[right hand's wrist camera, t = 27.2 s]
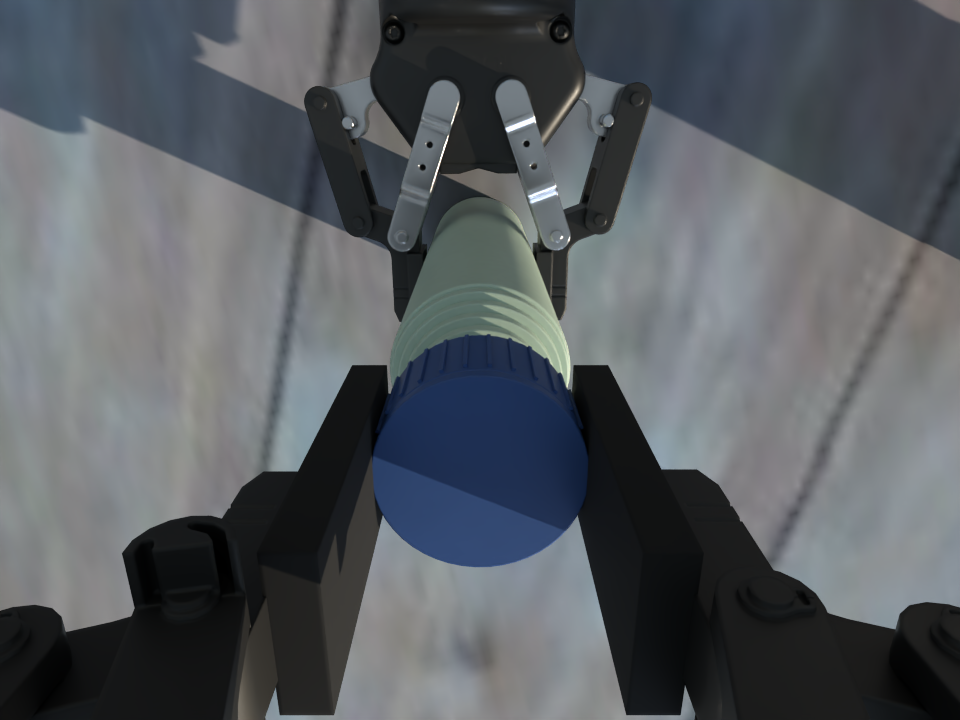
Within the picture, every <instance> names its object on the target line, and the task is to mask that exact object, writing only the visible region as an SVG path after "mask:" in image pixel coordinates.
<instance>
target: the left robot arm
mask: <svg viewBox="0 0 960 720" xmlns="http://www.w3.org/2000/svg"><path fill="white" fill-rule="evenodd" d="M379 12H380V31H381V39H380V47H379V51H378V54H377V57H376V60H375V62H374V64H373V66H372V69H371V72H370V76H369V77H366V78H362V79H359V80H355V81H352V82H348V83H345V84H341V85H338V86H334V87H326V86H315V87H313V88H311V89H309V90H308V91H307V93H306V95H305V98H304V104H305V108H306V111H307V114H308V117H309V120H310V123H311V126H312V129H313V132H314V136H315V139H316V142H317V145H318V148H319V151H320V154H321V157H322V160H323V163H324V166H325V169H326V172H327V175H328V178H329V181H330V184H331V187H332V190H333V193H334V197H335V200H336V203H337V206H338V209H339V212H340V215H341V218H342V221H343V224H344V227H345V229H346V231H347V232H348V233H349V234H350V235H352V236H354V237H363V236H364V237H367V238H370V239H373V240H376V241H379V242H381V243H383V244H384V245H385V246H386V247H387V248H388V249H389V251H390V253H391V258H392V274H393V292H394V310H395V313H396V315H397V317H398V319H399V321H400V322H402V319H403V316H404V314H405V311H406V309H407V306H408V303H409V301H410V298H411V295H412V293H413V290H414V288H415V285H416V282H417V280H418V277H419V274H420V272H421V269H422V266H423V264H424V261H425V259H426V256H427V244H422V226H423V223H424V220H425V217H426V214H427V211H428V208H429V204H430V201H431V198H432V195H433V192H434V190H435V187H436V183H437V180H438V177H439V174H460V173H463V172H467V171H470V170H474V169H477V168H480V169H484V170H487V171H491V172H495V173H518V176H519V178H520V181H521V184H522V187H523V190H524V193H525V196H526V198H527V201H528V204H529V207H530V210H531V213H532V216H533V219H534V222H535V225H536V228H537V231H538V243H533V256H534V259H535V261H536V264H537V266H538V269H539V272H540V274H541V277H542V279H543V282H544V285H545V287H546V290H547V293H548V295H549V298H550V300H551V303H552V306H553V308H554V311H555V313H556V316H557V319H558V320H561V319H562V317H563V315H564V313H565V311H566V300H567V297H566V296H567V274H568V254H569V251H570V249H571V247H572V246H573V244H574V243H576V242H577V241H578V240H581V239H583V238H586V237H589V236H591V235H594V234H604V233H606V232H608V231H609V230H610V229H611V228H612V226H613V224H614V221H615V218H616V215H617V212H618V209H619V205H620V202H621V199H622V196H623V192H624V189H625V186H626V183H627V179H628V176H629V173H630V170H631V166H632V163H633V160H634V157H635V154H636V150H637V147H638V144H639V141H640V137H641V134H642V131H643V128H644V124H645V121H646V118H647V115H648V111H649V108H650V105H651V101H652V94H651V91H650V89H649V88H648V87H647V86H646V85H645V84H643V83H639V82H636V83H631V84H626V85H623V84H620V83H616V82H612V81H608V80H605V79H601V78H597V77H593V76H590V75H586V74H585V69H584V66H583V64H582V62H581V60H580V57H579V55H578V53H577V49H576V46H575V40H574V17H575V0H379ZM578 100H580V101H582V102H583V103H584V104H585V106H586V108H587V112H588V117H587V125H588V128H589V130H590V131H591V132H592V133H593V134H595V135H598V136H599V137H598V140H597V144H596V147H595V151H594V154H593V158H592V161H591V165H590V168H589V172H588V175H587V179H586V182H585V186H584V189H583V192H582V196H581V199H580V203H579V204H577V205H575V206H572V207H569V208H567V209H564V210H563V208H562V205H561V202H560V198H559V195H558V192H557V187H556V183H555V180H554V177H553V173H552V170H551V167H550V164H549V161H548V158H547V155H546V152H545V148H544V147H545V146H546V145H547V143H548V142H549V140H550V139H551V137H552V136H553V135H554V133H555V132H556V130H557V129H558V128H559V126H560V125H561V123H562V122H563V121H564V119H565V118H566V116H567V115H568V114H569V112H570V111H571V109H572V108H573V107H574V105H575V104H576V102H577V101H578ZM376 102H378V103H379V104H380V106H381V107H382V108H383V110H384V111H385V112H386V114H387V115H388V116H389V118H390V119H391V121H392V122H393V123H394V125H395V126H396V127H397V129H398V130H399V131H400V133H401V134H402V135H403V137H404V138H405V140H406V141H407V142H408V144H409V145H410V146H411V148H412V151H411V154H410V158H409V161H408V164H407V168H406V171H405V174H404V178H403V181H402V184H401V188H400V194H399V198H398V201H397V204H396V208H395V211H393V210H390V209H387V208H384V207H381V206H379V205H378V202H377V199H376V195H375V192H374V189H373V186H372V182H371V179H370V176H369V173H368V169H367V166H366V163H365V160H364V156H363V153H362V150H361V146H360V143H359V140H358V138H359V137H362V136H363V135H365V134H366V132H367V131H368V128H369V117H368V114H369V110H370V108H371V106H372V105H373V104H374V103H376Z"/></svg>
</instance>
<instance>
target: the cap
mask: <svg viewBox="0 0 960 720" xmlns="http://www.w3.org/2000/svg"><path fill="white" fill-rule="evenodd" d="M581 429H583V425H582V422H581V419H580V416H579V413H578V410H577V407H576V404H575V401H574V398H573V395H572V392H571V389H570V390H568V389H567V387H566V385H565V381H564V378H563V375H562V374H561V372H560V373H558V372H557V371H556V370H555V368H554V367H553V366H552V365H551V364H550V362H549V359H548V358H547V357H546V358H544V357H542V356H541V355H540V354H538V353H537V352H535V351H534V350H532V347H531V346H528V347H527V346H525V345H523V344H521V343H518V342H516V341H513V340H512V338H508V339H506V338H502V337H497V336H491V334H487V335H471V336H469V334H467V335H465V336H464V337H458V338H454V339H451V340H447V339H446V340H444V341H443V342H442V343H440V344H437V345H435V346H433V347H432V348H430V349H428V348H426V349H425V350H424V352H423V353H422V354H421V355H419V356H418V357H417V358H416V359H414V360H413V361H411V360H410V361H409V362H408V365H407V367H406V369H405V370H404V371H403V373H402V374H401V375H400V377H399V376H397V377H396V379H395V382H394V385H393V388H392V391H391V394H389V393H388V395H387V398H386V401H385V404H384V407H383V410H382V413H381V417H380V420H379V423H378V426H377V429H376V432H375V433H377V434H378V436H377V439H376V442H375V445H374V449H373V454H372V468H373V483H374V496H375V499H376V501H377V504H378V506H379V509H380V511H381V512H382V514H383V516H384V518H385V519H386V521H387V522H388V523H389V525H390V526H391V527H392V529H393V530H394V531H395V532H396V533H397V534H398V535H399V536H400V537H401V538H402V539H403V540H405V541H406V542H407V543H408V544H410V545H411V546H412V547H414V548H416V549H417V550H419V551H421V552H422V553H424V554H426V555H428V556H430V557H433V558H435V559H437V560H440V561H444V562H447V563H450V564H455V565H460V566H469V567H492V566H500V565H505V564H510V563H514V562H517V561H520V560H523V559H525V558H528V557H530V556H532V555H534V554H536V553H538V552H540V551H542V550H543V549H545V548H546V547H548V546H549V545H551V544H552V543H553V542H554V541H556V540H557V539H558V538H559V537H560V536H561V535H562V534H563V533H564V532H565V531H566V530H567V529H568V528H569V527H570V525H571V524H572V522H573V521H574V520H575V518H576V517H577V515H578V513H579V511H580V509H581V507H582V505H583V503H584V500H585V497H586V489H587V474H588V452H587V448H586V444H585V441H584V438H583V434H582V431H581Z"/></svg>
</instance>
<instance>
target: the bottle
mask: <svg viewBox="0 0 960 720" xmlns="http://www.w3.org/2000/svg"><path fill="white" fill-rule="evenodd" d="M467 334H469V336H471V335H487V334H491V336H497V337H502V338H506V339H508V338H512V340H513V341H516V342H518V343H521V344H523V345H525V346H527V347H528V346H531V347H532V350H534V351H535V352H537V353H538V354H540V355H541V356H542V357H544V358H546V357H547V358H548V359H549V362H550V364H551V365H552V366H553V367H554V368H555V370H556V371H557V372H558V373H560V372H561V374H562V375H563V378H564V381H565V385H566V387H568V383H569V377H570V356H569V351H568V346H567V343H566V340H565V337H564V334H563V332H562V329H561V327H560V324H559V321H558V319H557V316H556V313H555V311H554V308H553V306H552V303H551V300H550V298H549V295H548V293H547V290H546V287H545V285H544V282H543V279H542V277H541V274H540V272H539V269H538V266H537V264H536V261H535V259H534V256H533V253H532V251H531V248H530V245H529V243H528V240H527V238H526V235H525V232H524V230H523V227H522V225H521V223H520V221H519V219H518V217H517V216H516V214H515V213H514V212H513V211H512V210H511V209H510V208H509V207H508V206H506V205H505V204H503V203H501V202H499V201H497V200H494V199H491V198H486V197H474V198H469V199H466V200H463V201H461V202H459V203H457V204H455V205H454V206H452V207H451V208H450V209H449V210H448V211H447V212H446V213H445V214H444V216H443V217H442V219H441V220H440V222H439V225H438V227H437V230H436V232H435V235H434V238H433V240H432V243H431V245H430V248H429V251H428V253H427V256H426V259H425V261H424V264H423V266H422V269H421V272H420V274H419V277H418V280H417V282H416V285H415V288H414V290H413V293H412V295H411V298H410V301H409V303H408V306H407V309H406V311H405V314H404V316H403V319H402V322H401V324H400V327H399V330H398V332H397V335H396V338H395V340H394V344H393V347H392V351H391V358H390V375H391V383H392V386H393V385H394V382H395V379H396V377H397V376H399V377H400V375H401V374H402V373H403V371H404V370H405V369H406V367H407V365H408V362H409V361H410V360H411V361H413V360H414V359H416V358H417V357H418V356H419V355H421V354H422V353H423V352H424V350H425V349H426V348H428V349H430V348H432V347H433V346H435V345H437V344H440V343H442V342H443V341H444V340H446V339H447V340H451V339H454V338H458V337H464V336H465V335H467Z"/></svg>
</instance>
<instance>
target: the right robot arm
mask: <svg viewBox="0 0 960 720" xmlns="http://www.w3.org/2000/svg"><path fill="white" fill-rule="evenodd" d="M387 395H388V378H387V365H352V367H351V369H350V371H349V373H348V375H347V377H346V379H345V381H344V383H343V384H342V386H341V388H340V390H339V392H338V394H337V396H336V398H335V400H334V402H333V404H332V406H331V408H330V410H329V412H328V414H327V416H326V418H325V420H324V422H323V424H322V426H321V428H320V429H319V431H318V433H317V435H316V437H315V439H314V441H313V443H312V445H311V447H310V449H309V451H308V453H307V455H306V457H305V459H304V461H303V463H302V465H301V467H300V469H299V471H298V472H262V473H261V474H260V475H258V476H257V477H255V478H254V479H253V480H251V481H250V482H249V483H247V484H246V485H244V486H243V487H242V488H241V490H240V491H239V493H238V494H237V496H236V498H235V499H234V501H233V502H232V504H231V508H230V509H228V510H227V512H226V513H225V515H224V516H223V518H222V519H221V518H217V517H213V516H189V517H184V518H179V519H174V520H170V521H167V522H165V523H162V524H160V525H157V526H155V527H153V528H150V529H148V530H147V531H145V532H144V533H142V534H141V535H139V536H138V537H137V538H135V539H134V540H132V541H131V543H130V544H129V545H128V546H127V548H126V549H125V550H124V551H123V553H122V555H123V559H124V564H125V568H126V572H127V577H128V581H129V585H130V590H131V594H132V598H133V603H134V607H135V609H134V612H133V614H132V616H131V617H128V618H124V619H121V620H117V621H114V622H110V623H105V624H101V625H96V626H92V627H87V628H83V629H78V630H74V631H69V632H66V631H65V628H64V624H63V621H62V617H61V616H60V615H59V614H58V613H57V612H56V611H54V610H53V609H52V608H48V607H43V606H38V605H29V606H20V607H12V608H8V609H5V610H1V611H0V720H265V716H266V713H267V710H268V707H269V704H270V702H271V699H272V696H273V693H274V690H275V688H276V692H277V699H278V706H279V713H280V715H334V713H335V709H336V705H337V701H338V697H339V692H340V688H341V684H342V680H343V676H344V672H345V668H346V664H347V660H348V655H349V651H350V647H351V643H352V639H353V635H354V631H355V627H356V623H357V618H358V614H359V610H360V606H361V602H362V598H363V594H364V590H365V586H366V582H367V577H368V573H369V569H370V565H371V561H372V557H373V553H374V549H375V545H376V540H377V536H378V532H379V528H380V524H381V520H382V516H383V514H382V512H381V511H380V509H379V506H378V504H377V501H376V499H375V496H374V483H373V468H372V454H373V449H374V445H375V442H376V439H377V436H378V434H377V433H375V432H376V429H377V426H378V423H379V420H380V417H381V413H382V410H383V407H384V404H385V401H386V398H387ZM572 395H573V398H574V401H575V404H576V407H577V410H578V413H579V416H580V419H581V422H582V425H583V429H581V431H582V434H583V438H584V441H585V444H586V448H587V452H588V474H587V489H586V497H585V500H584V503H583V505H582V507H581V509H580V511H579V513H578V518H579V522H580V526H581V531H582V535H583V539H584V543H585V547H586V551H587V555H588V559H589V563H590V568H591V572H592V576H593V580H594V584H595V588H596V592H597V596H598V600H599V605H600V609H601V613H602V617H603V621H604V625H605V629H606V633H607V637H608V641H609V646H610V650H611V654H612V658H613V662H614V666H615V670H616V674H617V678H618V683H619V687H620V691H621V695H622V699H623V703H624V707H625V711H626V715H681V708H682V702H683V695H684V688H685V686H686V689H687V691H688V694H689V697H690V700H691V703H692V705H693V708H694V711H695V720H960V607H955V606H952V605H949V604H939V603H930V602H925V603H919V604H914V605H909V606H908V607H907V608H906V609H905V610H904V611H903V612H902V613H900V615H899V619H898V622H897V626H896V630H895V629H890V628H886V627H881V626H877V625H872V624H868V623H863V622H859V621H854V620H850V619H846V618H842V617H839V616H836V615H832V614H829V613H827V610H826V608H825V606H824V605H823V603H822V602H821V600H820V599H819V598H818V596H817V595H816V593H814V592H813V591H812V590H811V589H809V588H808V587H807V586H805V585H804V584H803V583H802V582H800V581H799V580H796V579H794V578H792V577H790V576H788V575H786V574H783V573H781V572H778V571H774V570H773V569H772V567H771V566H770V564H769V563H768V561H767V559H766V558H765V556H764V555H763V553H762V552H761V550H760V549H759V547H758V545H757V544H756V542H755V541H754V539H753V538H752V536H751V535H750V533H749V531H748V530H747V528H746V527H745V525H744V524H743V522H740V518H739V516H738V514H737V513H736V511H735V510H734V508H733V507H732V506H730V502H729V500H728V499H727V497H726V496H725V494H724V493H723V491H722V490H721V488H720V486H719V485H718V484H716V483H715V482H714V481H712V480H711V479H710V478H708V477H707V476H705V475H704V474H703V473H701V472H700V471H698V470H661V468H660V466H659V464H658V462H657V460H656V458H655V456H654V454H653V452H652V450H651V448H650V446H649V444H648V442H647V440H646V438H645V436H644V435H643V433H642V431H641V429H640V427H639V425H638V423H637V421H636V419H635V417H634V415H633V413H632V411H631V409H630V407H629V405H628V403H627V401H626V399H625V397H624V395H623V393H622V391H621V390H620V388H619V386H618V384H617V382H616V380H615V378H614V376H613V374H612V372H611V370H610V368H609V366H608V365H574V367H573V386H572Z"/></svg>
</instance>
